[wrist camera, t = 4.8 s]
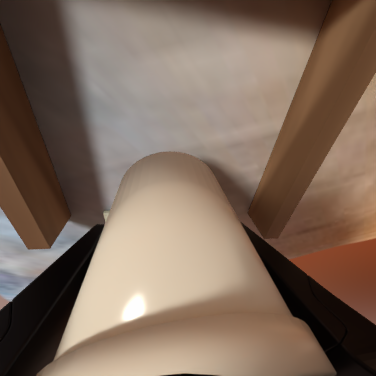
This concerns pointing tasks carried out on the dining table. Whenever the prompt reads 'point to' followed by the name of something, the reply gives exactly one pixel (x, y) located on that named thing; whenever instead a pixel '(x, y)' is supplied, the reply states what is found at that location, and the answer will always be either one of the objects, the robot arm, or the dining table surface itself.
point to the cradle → (278, 162)
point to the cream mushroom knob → (180, 288)
